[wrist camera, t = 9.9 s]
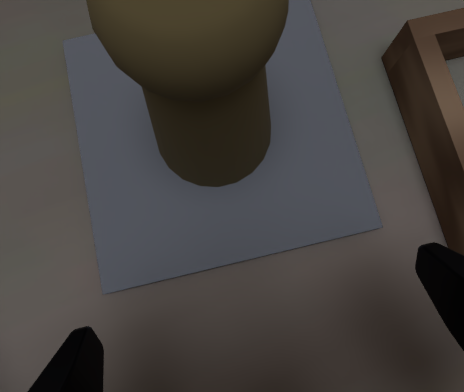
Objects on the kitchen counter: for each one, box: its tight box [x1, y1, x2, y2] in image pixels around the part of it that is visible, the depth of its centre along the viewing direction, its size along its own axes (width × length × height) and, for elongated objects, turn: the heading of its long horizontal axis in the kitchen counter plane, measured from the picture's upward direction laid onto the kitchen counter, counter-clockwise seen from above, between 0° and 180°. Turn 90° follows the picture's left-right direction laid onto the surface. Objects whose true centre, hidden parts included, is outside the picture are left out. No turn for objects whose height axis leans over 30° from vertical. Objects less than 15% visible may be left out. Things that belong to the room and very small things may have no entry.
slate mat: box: [63, 0, 383, 294], centre depth 19 cm, size 14×14×1 cm
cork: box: [86, 0, 289, 187], centre depth 13 cm, size 6×6×11 cm
